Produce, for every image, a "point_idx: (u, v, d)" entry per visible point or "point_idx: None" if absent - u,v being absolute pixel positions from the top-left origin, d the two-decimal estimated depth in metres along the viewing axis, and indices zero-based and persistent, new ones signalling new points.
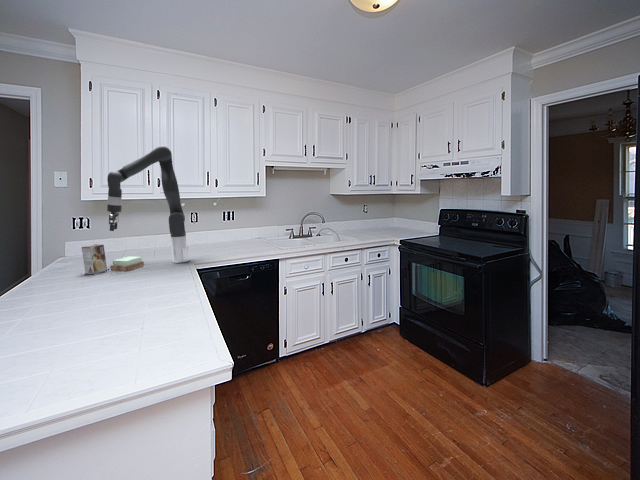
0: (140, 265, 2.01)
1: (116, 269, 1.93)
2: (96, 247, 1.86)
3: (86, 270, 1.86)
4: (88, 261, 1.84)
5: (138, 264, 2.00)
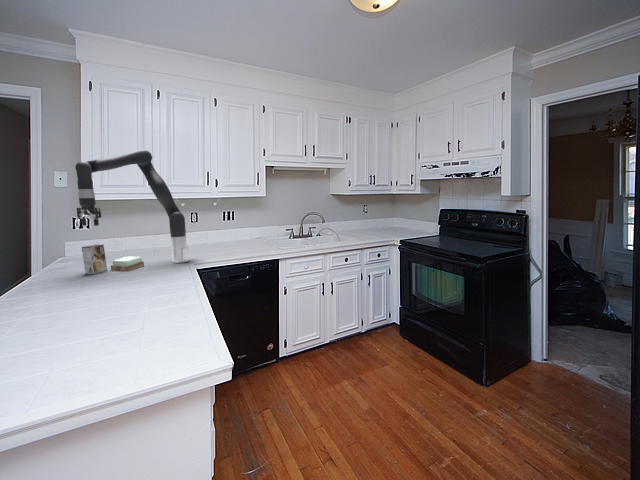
0: (140, 265, 2.01)
1: (116, 269, 1.93)
2: (96, 247, 1.86)
3: (86, 270, 1.86)
4: (88, 261, 1.84)
5: (138, 264, 1.99)
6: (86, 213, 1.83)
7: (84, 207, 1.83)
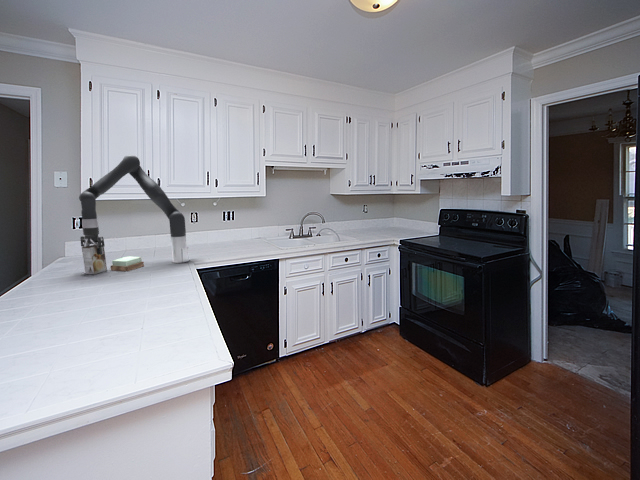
0: (140, 265, 2.01)
1: (116, 269, 1.93)
2: (96, 247, 1.86)
3: (86, 270, 1.86)
4: (88, 261, 1.84)
5: (138, 264, 1.99)
6: (90, 242, 1.86)
7: (88, 236, 1.86)
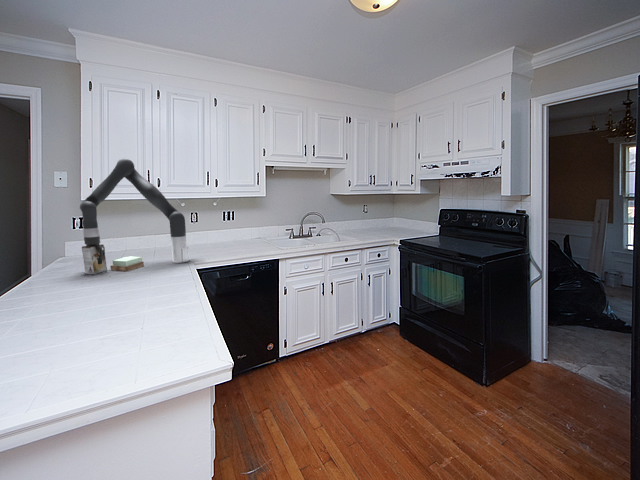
0: (140, 265, 2.01)
1: (116, 269, 1.93)
2: None
3: (86, 270, 1.86)
4: (88, 261, 1.84)
5: (138, 264, 1.99)
6: None
7: (89, 245, 1.87)
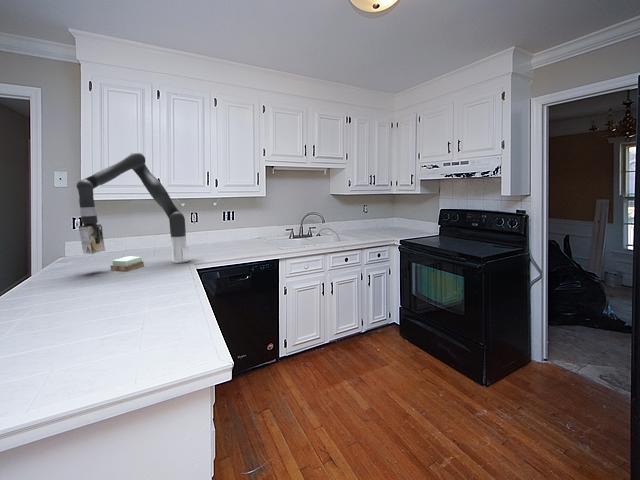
0: (140, 265, 2.01)
1: (116, 269, 1.93)
2: None
3: (84, 250, 1.84)
4: (86, 241, 1.82)
5: (138, 264, 1.99)
6: None
7: (86, 225, 1.85)
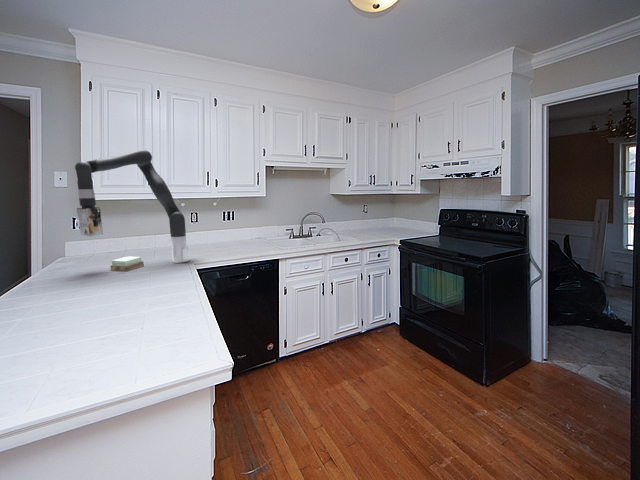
0: (140, 265, 2.01)
1: (116, 269, 1.93)
2: None
3: (81, 232, 1.82)
4: (84, 223, 1.81)
5: (138, 264, 1.99)
6: None
7: (84, 207, 1.83)
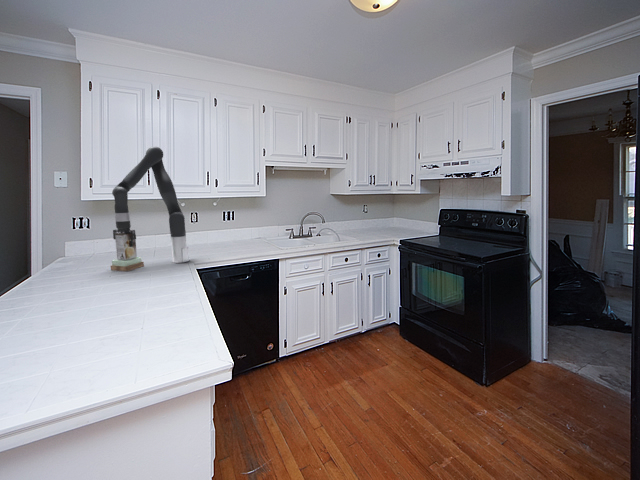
0: (140, 265, 2.01)
1: (116, 269, 1.93)
2: (128, 235, 1.94)
3: (118, 256, 1.94)
4: (120, 248, 1.92)
5: (138, 264, 1.99)
6: None
7: (120, 229, 1.94)
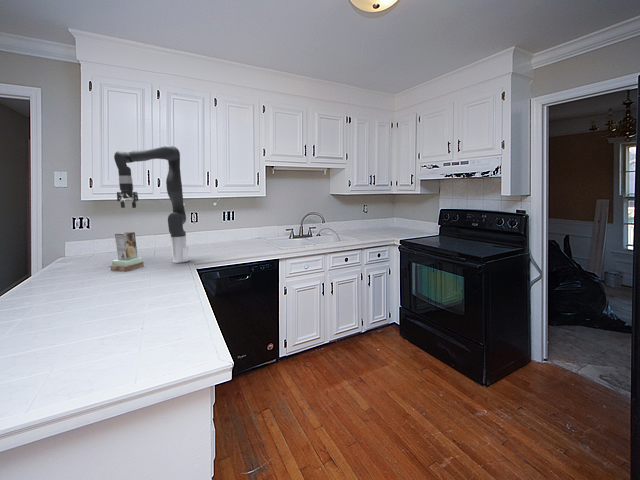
0: (140, 265, 2.01)
1: (115, 269, 1.93)
2: (128, 234, 1.95)
3: (119, 256, 1.94)
4: (121, 248, 1.93)
5: (138, 264, 1.99)
6: (125, 197, 2.10)
7: (123, 191, 2.09)
